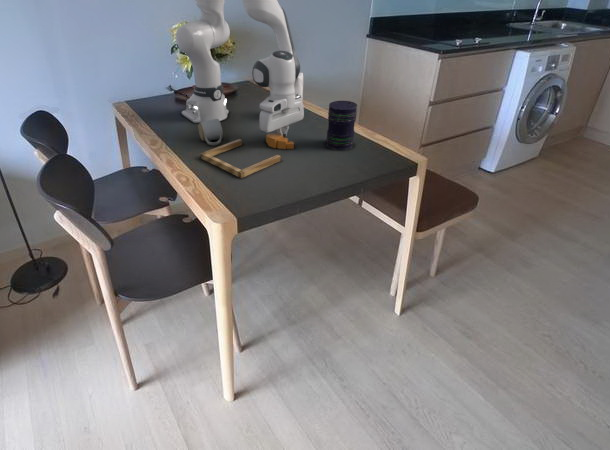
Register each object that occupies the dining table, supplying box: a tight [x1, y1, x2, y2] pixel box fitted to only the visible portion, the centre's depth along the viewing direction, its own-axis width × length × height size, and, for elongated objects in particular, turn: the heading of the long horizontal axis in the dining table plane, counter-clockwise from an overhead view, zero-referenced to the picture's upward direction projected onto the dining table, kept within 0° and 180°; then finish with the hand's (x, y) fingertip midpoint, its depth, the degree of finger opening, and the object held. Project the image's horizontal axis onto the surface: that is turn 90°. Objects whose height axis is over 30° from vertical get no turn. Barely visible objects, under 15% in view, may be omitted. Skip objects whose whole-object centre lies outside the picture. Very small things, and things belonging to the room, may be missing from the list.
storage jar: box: [326, 100, 358, 151], centre depth 149 cm, size 10×10×15 cm
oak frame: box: [200, 138, 282, 179], centre depth 145 cm, size 22×18×2 cm
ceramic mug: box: [197, 119, 224, 146], centre depth 158 cm, size 11×8×8 cm
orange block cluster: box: [265, 132, 295, 150], centre depth 154 cm, size 14×6×4 cm, turn 43°
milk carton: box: [294, 72, 304, 102], centre depth 174 cm, size 9×9×20 cm
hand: (282, 137), depth 155 cm, fingers closed
